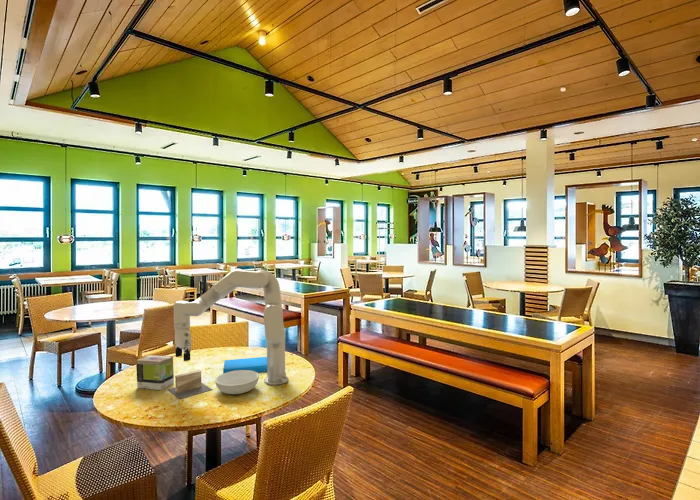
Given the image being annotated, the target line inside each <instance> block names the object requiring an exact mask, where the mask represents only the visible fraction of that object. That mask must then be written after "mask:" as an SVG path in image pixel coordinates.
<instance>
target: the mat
mask: <svg viewBox="0 0 700 500" xmlns="http://www.w3.org/2000/svg"><path fill="white" fill-rule="evenodd" d="M201 384H202V386H201V387H198V388H194V389H191V390H187V391H184V392H180V393H177V392H176V386H175V387H172V388H169V389H167V391H168V392H169V393H171V394H172V395H174V396H175V397H176V398H177V399H179V400H183V399H186V398H189V397H192V396H193V397H194V396H196V395H199V394H202V393H203V394H204V393H206V392H211V391H212V390H213V388H211V387H209V386H208V385H206V384H204V383H203V382H201Z"/></svg>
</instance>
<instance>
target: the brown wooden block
mask: <svg viewBox="0 0 700 500" xmlns="http://www.w3.org/2000/svg"><path fill="white" fill-rule="evenodd" d="M174 380H175V381H174V383H175V387H176V392H177V393H180V392H184V391H187V390H191V389H194V388H198V387H201V386H202V384H201V383H202V371H201V370H200V369H197V370H193V371H189V372H185V373H181V374H178V375H174Z"/></svg>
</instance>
